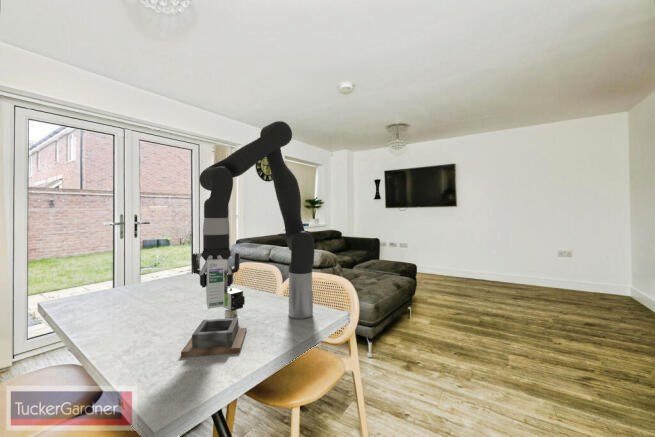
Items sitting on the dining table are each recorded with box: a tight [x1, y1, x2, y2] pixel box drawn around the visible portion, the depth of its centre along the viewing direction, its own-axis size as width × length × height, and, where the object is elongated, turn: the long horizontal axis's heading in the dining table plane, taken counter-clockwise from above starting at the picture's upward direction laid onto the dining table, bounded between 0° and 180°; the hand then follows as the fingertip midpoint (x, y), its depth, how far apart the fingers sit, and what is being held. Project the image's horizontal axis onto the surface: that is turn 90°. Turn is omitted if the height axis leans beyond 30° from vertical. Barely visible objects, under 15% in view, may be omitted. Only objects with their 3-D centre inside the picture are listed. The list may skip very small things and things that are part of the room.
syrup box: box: [205, 259, 229, 310], centre depth 85 cm, size 6×6×14 cm
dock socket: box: [180, 317, 248, 358], centre depth 85 cm, size 16×14×6 cm
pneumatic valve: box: [222, 286, 246, 319], centre depth 105 cm, size 6×12×12 cm, turn 50°
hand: (216, 286), depth 85 cm, fingers closed on syrup box, 6 cm apart
